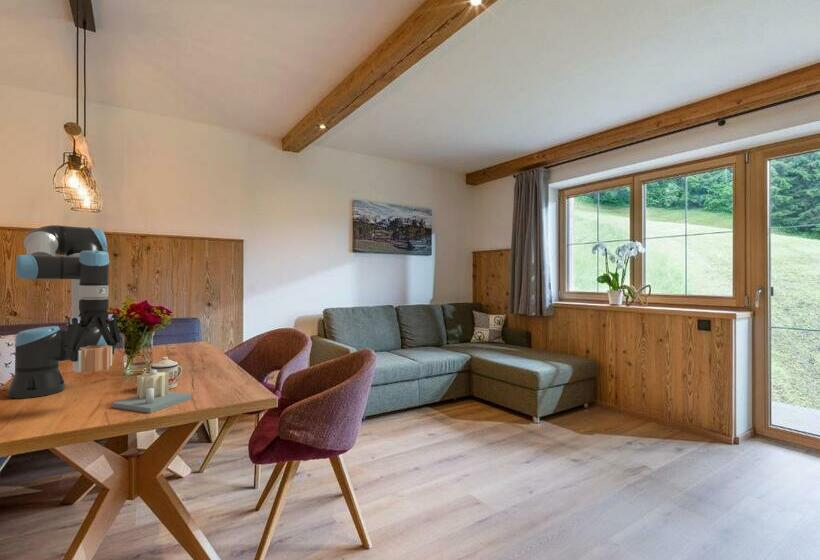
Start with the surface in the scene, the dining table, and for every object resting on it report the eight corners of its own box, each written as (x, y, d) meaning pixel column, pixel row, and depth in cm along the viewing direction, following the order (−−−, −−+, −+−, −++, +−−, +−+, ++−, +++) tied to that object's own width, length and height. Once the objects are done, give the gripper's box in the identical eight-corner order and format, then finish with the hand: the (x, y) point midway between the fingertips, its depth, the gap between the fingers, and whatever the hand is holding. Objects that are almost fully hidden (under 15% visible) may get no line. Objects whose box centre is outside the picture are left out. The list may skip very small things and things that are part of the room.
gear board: (111, 407, 130) (111, 376, 130) (155, 393, 145) (156, 366, 145) (150, 413, 125) (150, 381, 125) (192, 398, 141) (192, 370, 141)
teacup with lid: (162, 391, 148) (162, 360, 148) (144, 389, 151) (144, 358, 151) (189, 384, 160) (190, 354, 159) (172, 381, 163) (173, 352, 162)
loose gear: (68, 370, 127) (68, 348, 127) (97, 364, 136) (97, 344, 135) (88, 373, 125) (88, 350, 124) (116, 367, 133) (116, 346, 133)
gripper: (65, 300, 118) (64, 377, 119) (134, 297, 139) (133, 362, 139) (47, 299, 120) (46, 374, 121) (118, 296, 141) (117, 360, 141)
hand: (93, 368), depth 130 cm, fingers closed on loose gear, 9 cm apart
